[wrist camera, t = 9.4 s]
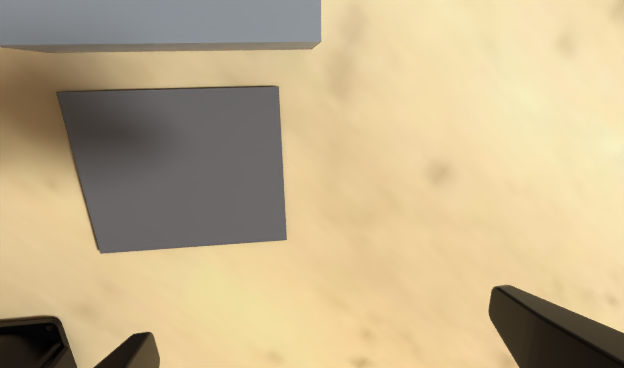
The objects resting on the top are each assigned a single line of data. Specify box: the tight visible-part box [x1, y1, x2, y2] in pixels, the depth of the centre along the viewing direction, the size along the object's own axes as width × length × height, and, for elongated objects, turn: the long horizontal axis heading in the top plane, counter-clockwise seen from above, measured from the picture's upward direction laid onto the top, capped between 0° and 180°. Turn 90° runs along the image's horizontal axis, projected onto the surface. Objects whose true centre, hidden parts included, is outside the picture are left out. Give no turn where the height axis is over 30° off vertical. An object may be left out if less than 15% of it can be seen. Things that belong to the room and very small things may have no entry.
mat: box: [56, 87, 287, 254], centre depth 19 cm, size 12×10×1 cm
